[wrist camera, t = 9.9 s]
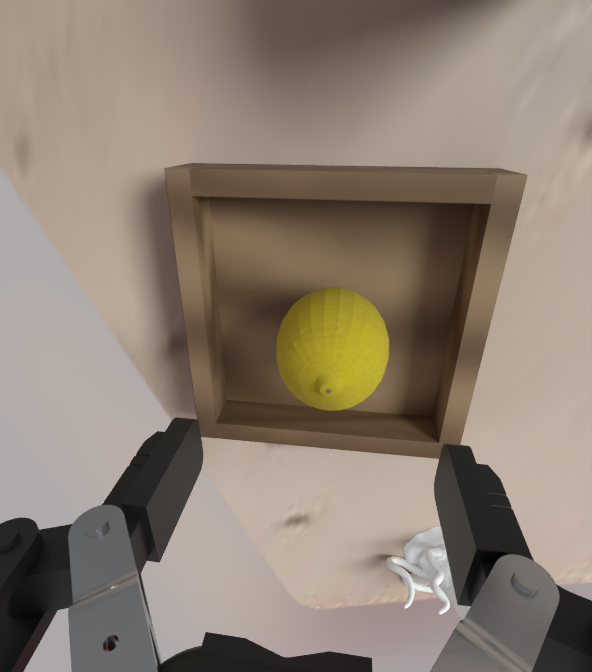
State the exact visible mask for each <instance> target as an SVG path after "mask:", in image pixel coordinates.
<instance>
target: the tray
mask: <svg viewBox="0 0 592 672" xmlns="http://www.w3.org/2000/svg"><path fill="white" fill-rule="evenodd" d="M164 170H165V178H166V185H167V193H168V201H169V208H170V216H171V223H172V231H173V239H174V246H175V254H176V262H177V269H178V277H179V285H180V292H181V300H182V307H183V315H184V323H185V330H186V338H187V346H188V353H189V361H190V369H191V376H192V384H193V392H194V399H195V407H196V414H197V420H198V421H199V426H200V433H201V437H210V438H221V439H232V440H242V441H253V442H264V443H275V444H286V445H296V446H307V447H318V448H329V449H339V450H350V451H361V452H372V453H383V454H393V455H404V456H415V457H426V458H436V459H440V454H441V450H442V447H443V445H444V444H453V445H460V443H461V439H462V435H463V431H464V427H465V423H466V419H467V415H468V411H469V407H470V403H471V399H472V395H473V391H474V387H475V383H476V379H477V375H478V371H479V367H480V363H481V359H482V355H483V351H484V347H485V343H486V339H487V335H488V331H489V327H490V323H491V319H492V315H493V311H494V307H495V303H496V299H497V295H498V291H499V287H500V283H501V279H502V275H503V271H504V267H505V263H506V259H507V255H508V251H509V247H510V243H511V239H512V235H513V231H514V227H515V223H516V219H517V215H518V211H519V207H520V203H521V199H522V195H523V191H524V187H525V183H526V179H527V175H525V174H521V173H517V172H513V171H508V170H504V169H497V168H438V167H379V166H320V165H261V164H201V163H190V164H185V165H180V166H174V167H169V168H164ZM327 287H341V288H345V289H349V290H352V291H355V292H356V293H358V294H360V295H362V296H364V297H365V298H366V299H367V300H368V301H370V302H371V303H372V304H373V305H374V306H375V307H376V309H377V310H378V312H379V314H380V315H381V317H382V318H383V320H384V322H385V326H386V329H387V333H388V337H389V358H388V363H387V366H386V369H385V372H384V375H383V378H382V380H381V382H380V383H379V385H378V386H377V388H376V389H375V391H374V392H373V393H372V394H371V395H370V396H369V397H367V398H366V399H365V400H364V401H362V402H361V403H359V404H357V405H355V406H353V407H351V408H347V409H343V410H333V411H328V410H322V409H317V408H314V407H312V406H309V405H307V404H305V403H304V402H302V401H301V400H299V399H298V398H297V397H296V396H295V395H294V394H293V393H292V392H291V391H290V390H289V389H288V387H287V386H286V384H285V382H284V381H283V379H282V377H281V374H280V370H279V367H278V363H277V357H276V350H277V336H278V333H279V329H280V326H281V323H282V321H283V319H284V317H285V316H286V314H287V313H288V311H289V310H290V308H291V307H292V306H293V305H294V304H295V303H296V302H297V301H298V300H299V299H301V298H302V297H303V296H305V295H307V294H309V293H311V292H313V291H315V290H318V289H322V288H327Z"/></svg>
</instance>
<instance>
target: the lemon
mask: <svg viewBox="0 0 592 672" xmlns="http://www.w3.org/2000/svg"><path fill="white" fill-rule="evenodd" d="M276 357H277V363H278V367H279V370H280V374H281V377H282V379H283V381H284V382H285V384H286V386H287V387H288V389H289V390H290V391H291V392H292V393H293V394H294V395H295V396H296V397H297V398H298V399H299V400H301V401H302V402H304V403H305V404H307V405H309V406H312V407H314V408H317V409H322V410H328V411H333V410H343V409H347V408H351V407H353V406H355V405H357V404H359V403H361V402H362V401H364V400H365V399H366V398H367V397H369V396H370V395H371V394H372V393H373V392H374V391H375V389H376V388H377V386H378V385H379V383H380V382H381V380H382V378H383V375H384V372H385V369H386V366H387V363H388V358H389V337H388V333H387V329H386V326H385V322H384V320H383V318H382V317H381V315H380V314H379V312H378V310H377V309H376V307H375V306H374V305H373V304H372V303H371V302H370V301H368V300H367V299H366V298H365V297H364V296H362V295H360V294H358V293H356V292H355V291H352V290H349V289H345V288H341V287H327V288H322V289H318V290H315V291H313V292H311V293H309V294H307V295H305V296H303V297H302V298H301V299H299V300H298V301H297V302H296V303H295V304H294V305H293V306H292V307H291V308H290V310H289V311H288V313H287V314H286V316H285V317H284V319H283V321H282V323H281V326H280V329H279V333H278V336H277V350H276Z"/></svg>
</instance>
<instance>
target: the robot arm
mask: <svg viewBox="0 0 592 672" xmlns="http://www.w3.org/2000/svg"><path fill="white" fill-rule="evenodd" d="M202 463H203V448H202V441H201V433H200V426H199V421H198V420H197V419H186V418H174V419H173V420H172V422H171V423H170V425H169V427H168V428H167V430H166V431H165V432H159V431H157V432H156V433H155V434H154V435H152V436H151V437H150V438H148V439H147V440H146V441H145V442H144V443H143V445H142V446H141V447H140V449H139V450H138V452H137V454H136V456H134V458H133V459H132V461H131V463H130V465H129V466H128V467H127V469H126V470H125V472H124V473H123V474H122V476H121V478H120V479H119V480H118V482H117V483H116V485H115V486H114V488H113V489H112V491H111V492H110V494H109V495H108V497H107V498H106V500H105V501H104V503H103V504H102V505H101V506H97V507H94V508H92V509H90V510H88V511H86V512H85V513H83V514H82V515H80V516H79V517H78V518H77V520H75V522H74V523H73V524H70V525H65V526H59V527H53V528H47V529H41V530H39V529H38V527H37V524H36V523H35V522H34V521H33V520H31V519H29V518H15V519H12V520H9V521H6V522H4V523H1V524H0V672H23V671H24V669H25V667H26V666H27V664H28V662H29V660H30V659H31V657H32V655H33V653H34V652H35V650H36V648H37V646H38V644H39V643H40V641H41V639H42V637H43V635H44V634H45V632H46V630H47V628H48V627H49V625H50V623H51V621H52V619H53V618H54V616H55V614H56V612H57V610H60V609H65V608H69V609H68V620H69V636H70V651H71V668H72V672H372V658H368V657H361V656H355V655H349V654H342V653H336V652H324V653H316V654H310V655H303V656H296V657H289V658H286V657H282V656H280V655H278V654H276V653H274V652H272V651H270V650H267V649H266V648H264V647H262V646H260V645H257V644H255V643H254V642H252V641H249V640H248V639H245V638H240V637H233V636H227V635H221V634H214V633H208V632H206V633H205V637H204V640H203V643H202V646H198V647H194V648H191V649H187V650H185V651H182V652H180V653H178V654H176V655H174V656H172V657H171V658H169V659H167V660H166V661H164V662H163V663H162V661H161V657H160V652H159V649H158V645H157V641H156V637H155V633H154V628H153V624H152V620H151V616H150V611H149V607H148V602H147V598H146V593H145V589H144V585H143V580H142V576H141V572H142V570H143V567H144V565H145V563H146V561H154V562H160V560H161V558H162V556H163V553H164V551H165V549H166V547H167V545H168V542H169V540H170V538H171V535H172V533H173V531H174V529H175V527H176V525H177V522H178V520H179V518H180V516H181V513H182V511H183V509H184V507H185V505H186V502H187V500H188V498H189V496H190V493H191V491H192V489H193V487H194V485H195V482H196V480H197V478H198V476H199V473H200V471H201V468H202ZM434 494H435V501H436V506H437V510H438V515H439V520H440V525H441V529H442V534H443V539H444V543H445V548H446V553H447V558H448V562H449V567H450V572H451V577H452V581H453V586H454V591H455V595H456V600H457V605H462V606H469V607H470V609H469V611H468V612H467V614H466V616H465V618H464V619H463V620H461V621H460V622H459V623H458V625H457V626H456V628H455V629H454V631H453V633H452V635H451V636H450V638H449V640H448V641H447V643H446V645H445V647H444V648H443V650H442V652H441V653H440V655H439V657H438V659H437V660H436V662H435V664H434V666H433V667H432V669H431V671H430V672H592V601H591V600H588V599H586V598H583V597H581V596H578V595H576V594H573V593H571V592H569V591H567V590H565V589H563V588H561V587H560V586H558V585H557V584H556V583H555V581H554V580H553V578H552V577H551V576H550V574H549V573H548V572H547V571H546V570H545V569H544V568H543V567H542V566H540V565H539V564H537V563H536V562H534V560H533V558H532V556H531V553H530V551H529V548H528V546H527V544H526V541H525V539H524V536H523V534H522V531H521V529H520V526H519V524H518V521H517V519H516V517H515V514H514V512H513V510H512V509H511V504H510V502H509V499H508V497H506V492H505V490H504V487H503V485H502V482H501V480H500V478H499V477H498V476H497V475H496V474H495V473H494V472H493V470H492V469H491V468H490V467H489V466H488V465H483V464H477V463H476V461H475V458H474V455H473V452H472V450H471V448H470V447H469V446H464V445H453V444H444V445H443V447H442V450H441V454H440V459H439V463H438V467H437V472H436V476H435V482H434Z"/></svg>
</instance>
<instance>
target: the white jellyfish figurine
mask: <svg viewBox="0 0 592 672" xmlns="http://www.w3.org/2000/svg"><path fill="white" fill-rule="evenodd" d="M403 553H404V558H405V559H403V558H400V557H397V556H391V557H389V558H388V559H387V566H388V567H389V568H390V569H391V570H392V571H394V572H395V573H397V574H398V575H400V576H401V577H402V581H403V583H404V584H405V585H406V586H408V591H409V594H408V599H407V602H406V603H405V605H404V608H407V607H409V606H410V605H411V603H412V601H413V598H414V592H415V590H418V591H423V592H432V593H434V594H435V595H436V596H437V597H438V598H439V599H440V600H441V601H442V602H443V603H444V606H443V607H442V608H441V609H440V610H439V611H438V613H439V614H443V613H445V612H446V611H447V610H448V609H449V606H450V603H449V601H451V603H452V604H453V606H454V608H455V610H456V612H457V614H458V615H459V617H460V619H461V620H463V619H464V618H465V616H466V614H467V612H468V611H469V609H470V607H469V606H462V605H457V600H456V595H455V591H454V586H453V581H452V577H451V572H450V567H449V562H448V558H447V553H446V548H445V543H444V539H443V534H442V529H441V526H440V527H436V528H431V529H429V530H428V531H426V532H424V533H420V534H417V535H416V536H415V537H414V538H413V539H412V540H410V541H409V542H408V543H407V544H406V545H405V547H404V549H403ZM398 565H400V566H402V567H404V568H406V569H407V570H409V571H410V572H412V573H414V574H408V572H407V571H405V570H404V569H403V568H401V567H400V566H398ZM413 582H419V583H424V584H429V585H430V586H425V585H420V584H416V583H413Z"/></svg>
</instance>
